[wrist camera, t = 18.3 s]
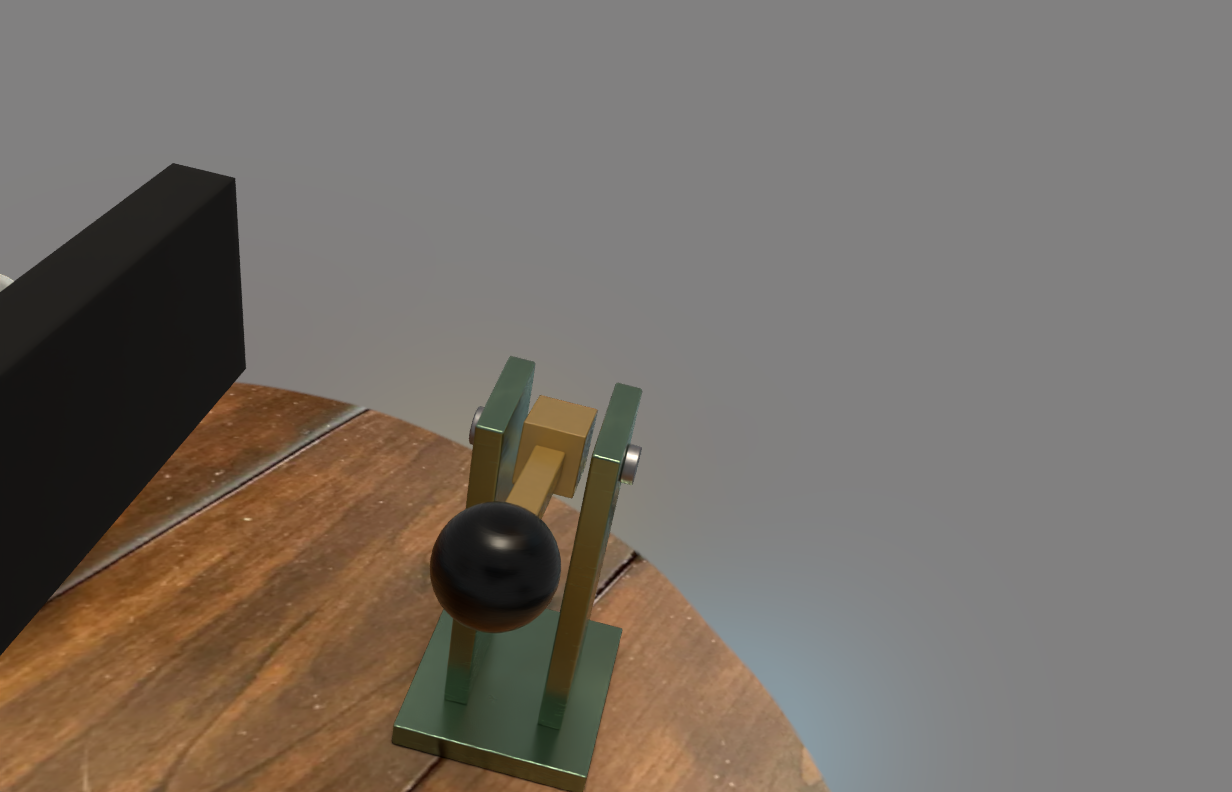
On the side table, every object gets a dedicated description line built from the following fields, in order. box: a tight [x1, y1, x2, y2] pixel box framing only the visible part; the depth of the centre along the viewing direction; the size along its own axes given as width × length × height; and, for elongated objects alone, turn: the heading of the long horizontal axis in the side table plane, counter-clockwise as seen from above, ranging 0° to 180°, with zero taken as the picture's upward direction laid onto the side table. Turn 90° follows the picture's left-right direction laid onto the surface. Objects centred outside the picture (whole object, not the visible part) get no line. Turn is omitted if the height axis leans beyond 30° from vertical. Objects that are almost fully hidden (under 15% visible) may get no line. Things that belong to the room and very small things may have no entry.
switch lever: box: [430, 395, 598, 633], centre depth 33 cm, size 12×4×4 cm, turn 169°
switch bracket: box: [392, 356, 642, 792], centre depth 41 cm, size 8×8×16 cm
